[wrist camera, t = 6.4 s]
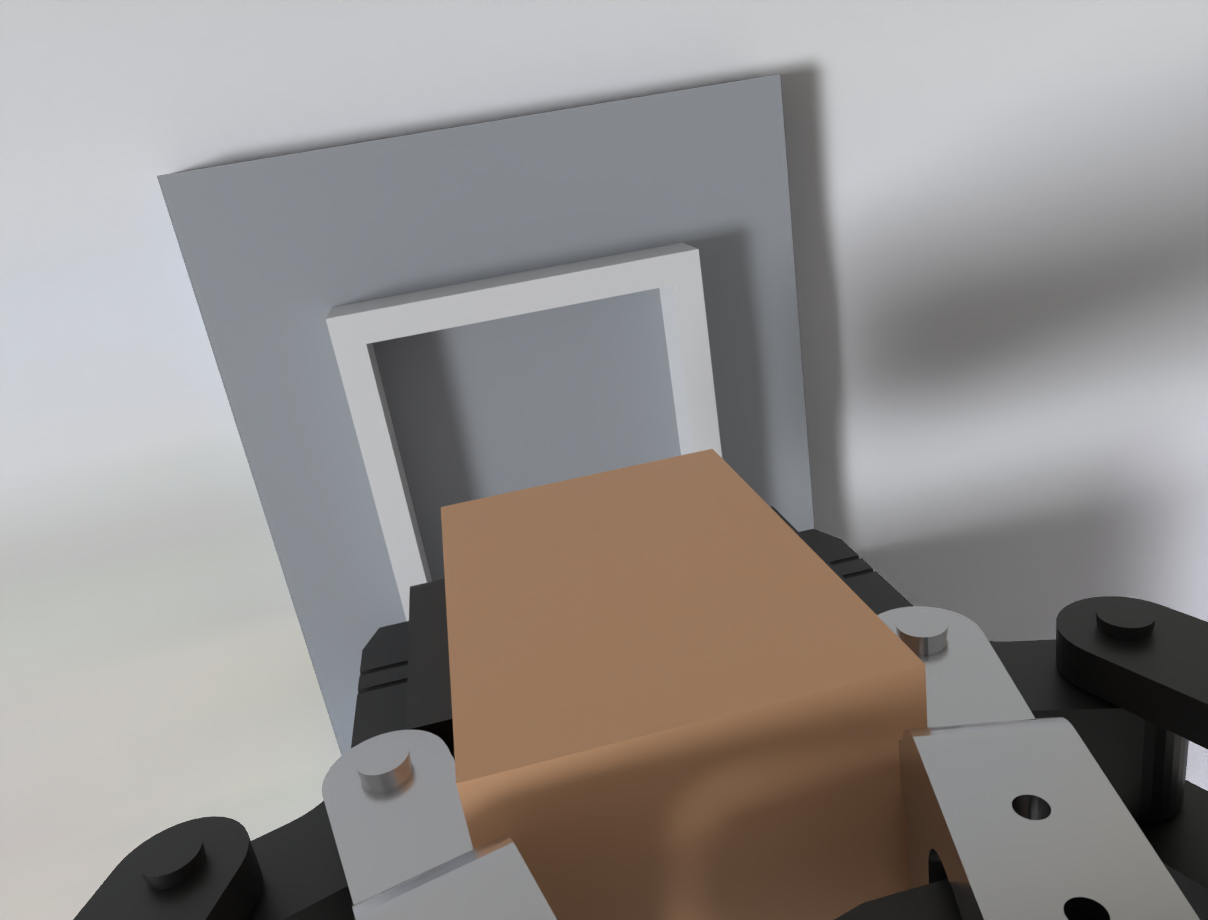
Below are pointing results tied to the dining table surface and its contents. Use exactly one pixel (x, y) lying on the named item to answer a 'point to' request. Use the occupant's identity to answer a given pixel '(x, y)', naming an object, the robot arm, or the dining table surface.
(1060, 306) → the dining table surface
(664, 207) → the housing base
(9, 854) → the dining table surface
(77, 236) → the dining table surface
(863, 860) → the tan rectangular block
